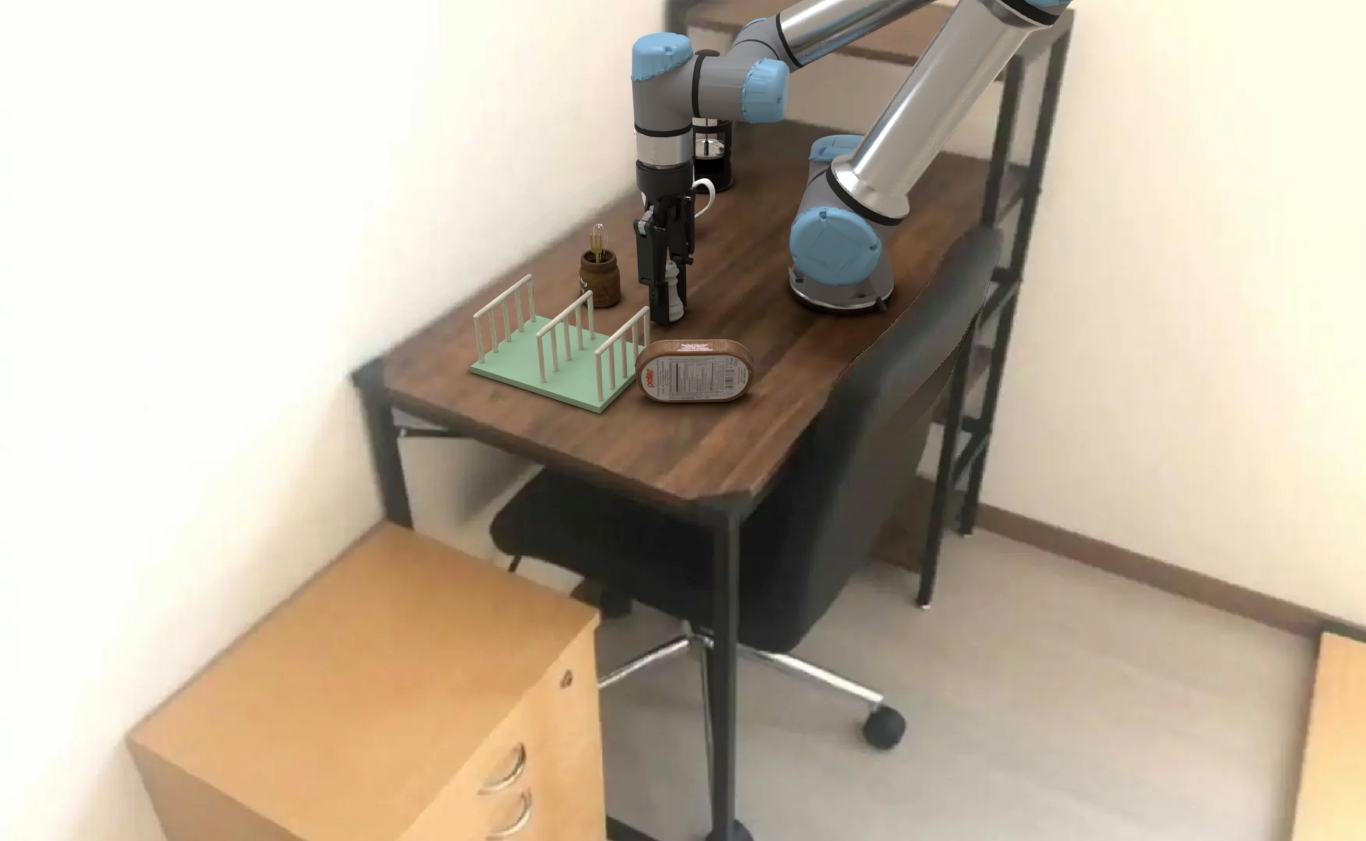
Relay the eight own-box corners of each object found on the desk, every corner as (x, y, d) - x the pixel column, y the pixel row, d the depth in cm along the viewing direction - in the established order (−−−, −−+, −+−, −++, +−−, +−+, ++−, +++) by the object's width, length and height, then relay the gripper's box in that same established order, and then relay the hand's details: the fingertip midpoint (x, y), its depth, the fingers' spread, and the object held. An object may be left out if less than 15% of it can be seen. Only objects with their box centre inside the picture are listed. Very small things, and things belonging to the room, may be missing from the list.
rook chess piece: (648, 310, 161) (646, 260, 156) (677, 304, 162) (676, 255, 157) (658, 325, 157) (657, 275, 153) (688, 319, 159) (688, 269, 154)
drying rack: (658, 356, 152) (657, 302, 147) (599, 413, 141) (596, 357, 136) (535, 320, 159) (530, 268, 154) (471, 372, 149) (463, 317, 144)
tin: (752, 390, 145) (754, 335, 140) (754, 404, 143) (756, 348, 138) (635, 393, 145) (634, 337, 140) (635, 407, 142) (634, 351, 137)
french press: (709, 200, 191) (711, 66, 178) (666, 186, 196) (664, 54, 182) (748, 177, 199) (753, 47, 185) (705, 164, 203) (707, 36, 190)
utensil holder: (621, 288, 167) (618, 214, 160) (619, 310, 162) (616, 234, 155) (582, 288, 167) (577, 214, 160) (578, 310, 162) (573, 234, 155)
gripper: (671, 130, 153) (674, 281, 167) (604, 178, 141) (614, 336, 155) (720, 139, 151) (719, 292, 164) (656, 189, 138) (661, 349, 152)
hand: (668, 313), depth 159 cm, fingers closed on rook chess piece, 4 cm apart
